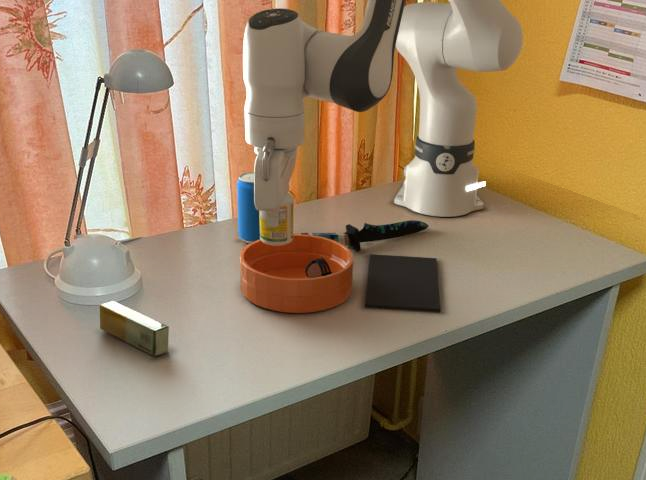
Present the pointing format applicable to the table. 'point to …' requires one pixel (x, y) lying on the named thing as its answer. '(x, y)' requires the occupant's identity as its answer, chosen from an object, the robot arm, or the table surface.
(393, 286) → the mat
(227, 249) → the table surface
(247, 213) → the beverage can
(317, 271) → the smartwatch
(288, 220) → the supplement bottle
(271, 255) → the bowl
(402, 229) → the knife
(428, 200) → the robot arm
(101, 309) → the medication box
